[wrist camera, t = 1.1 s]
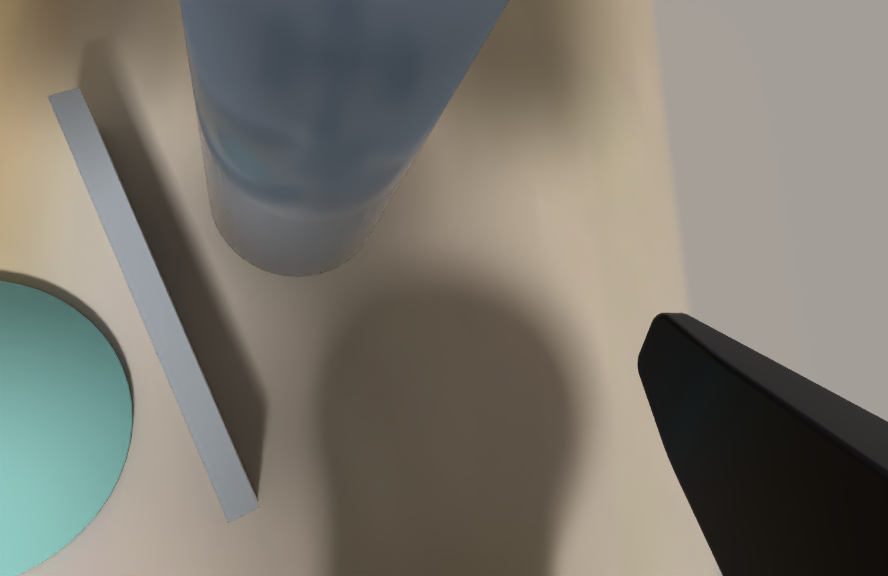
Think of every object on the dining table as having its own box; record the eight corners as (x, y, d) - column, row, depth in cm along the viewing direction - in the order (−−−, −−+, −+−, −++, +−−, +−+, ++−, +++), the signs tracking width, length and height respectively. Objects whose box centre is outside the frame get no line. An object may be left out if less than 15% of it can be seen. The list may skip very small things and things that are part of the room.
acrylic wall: (257, 499, 20) (259, 507, 18) (230, 513, 20) (228, 522, 17) (98, 127, 21) (79, 87, 19) (69, 135, 21) (47, 95, 18)
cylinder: (402, 241, 23) (584, 9, 11) (249, 301, 21) (255, 108, 9) (337, 100, 23) (440, -280, 11) (182, 148, 22) (100, -237, 9)
